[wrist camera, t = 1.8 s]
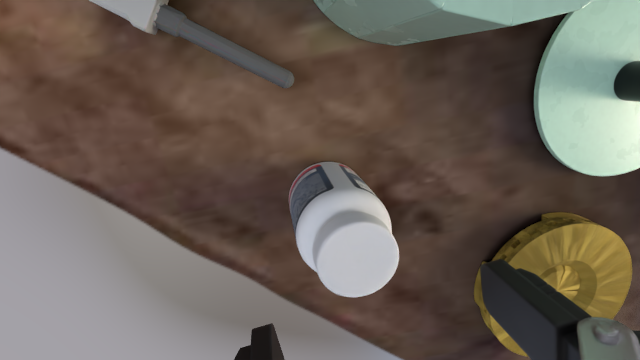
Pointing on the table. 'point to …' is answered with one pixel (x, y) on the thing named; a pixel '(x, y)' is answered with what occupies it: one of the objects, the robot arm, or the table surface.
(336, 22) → the cylindrical container
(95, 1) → the walkie-talkie
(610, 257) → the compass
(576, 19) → the lid
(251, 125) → the table surface
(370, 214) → the pill bottle
